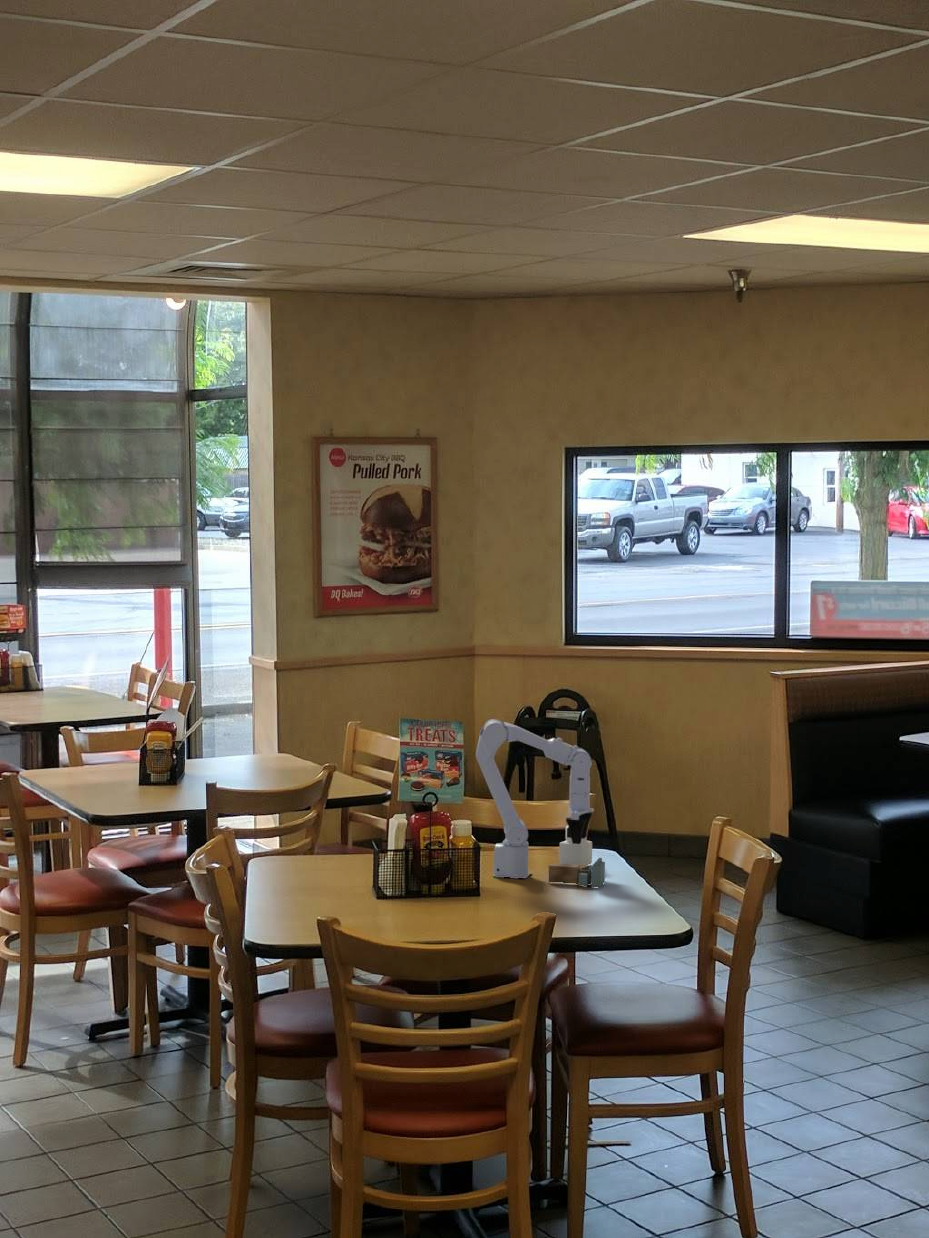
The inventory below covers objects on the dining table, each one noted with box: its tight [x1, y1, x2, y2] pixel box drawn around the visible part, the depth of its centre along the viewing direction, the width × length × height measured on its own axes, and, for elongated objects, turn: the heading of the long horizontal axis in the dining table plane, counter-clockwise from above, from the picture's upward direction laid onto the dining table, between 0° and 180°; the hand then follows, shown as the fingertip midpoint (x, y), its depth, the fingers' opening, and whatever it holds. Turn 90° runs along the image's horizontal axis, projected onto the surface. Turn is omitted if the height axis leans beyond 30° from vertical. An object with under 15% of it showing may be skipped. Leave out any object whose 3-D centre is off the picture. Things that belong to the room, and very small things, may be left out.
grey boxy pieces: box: [578, 857, 606, 889], centre depth 396 cm, size 6×7×7 cm
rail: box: [548, 862, 592, 885], centre depth 398 cm, size 12×3×5 cm, turn 75°
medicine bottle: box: [558, 825, 593, 867], centre depth 420 cm, size 7×7×12 cm
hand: (578, 840), depth 407 cm, fingers open, 7 cm apart
